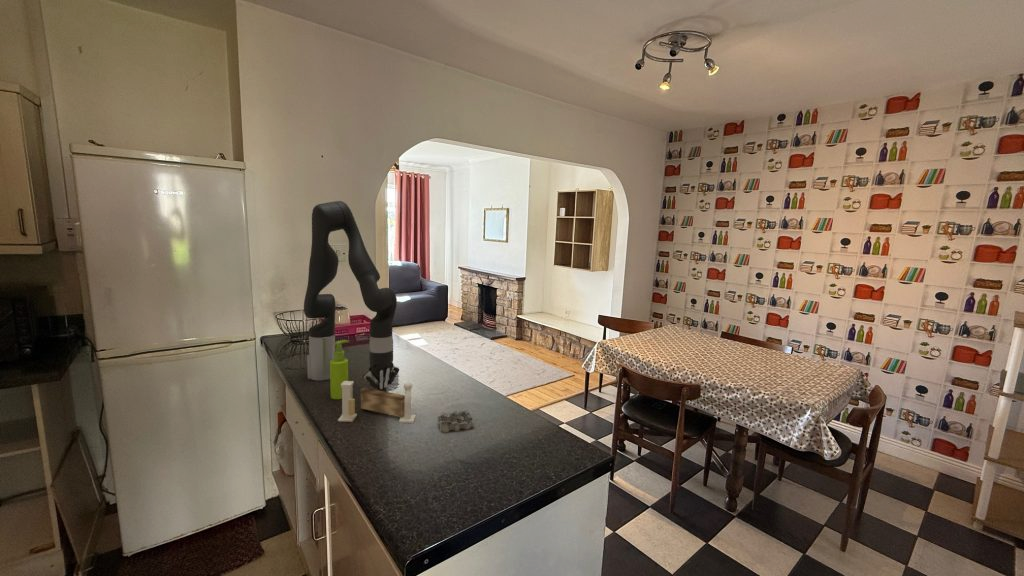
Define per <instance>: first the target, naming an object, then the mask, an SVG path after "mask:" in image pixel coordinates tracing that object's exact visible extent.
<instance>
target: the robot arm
mask: <svg viewBox="0 0 1024 576" xmlns="http://www.w3.org/2000/svg"><path fill="white" fill-rule="evenodd" d="M340 230H341V231H342V230H343V231H344V233H345V234H346V237H347V239H348V240H347V241H348V256H347V257H348V258H347V259H348V265H349V268H350V270H351V272H352V274H353V276H354V277H355V279H356V281H357V282H358V285H359V288H360V294H361V297H362V300H363V303H364V305H365V307H366V308H367V309H368V310H370V311H371V312H373V313H376V314H375V316H374V317H373V318H372V319H371V320H369V321H370V323H369V343H368V344H369V351H368V353H369V354H368V355H369V358H368V359H369V365H370V366H369V368H368V372H367V373H366V374H363V375H362V379H364V381H366V383H367V384H369V386H370V387H371V388H372V389H374V390H379V391H384V392H387V387H388V386H389V385H392V383H393V382H394V380H395V378H396V376H397V375H398V373H399V371H400V368H399V367H396V366H395V365H394V364H395V363H393V361H394V338H393V321H394V318H395V313H396V310H397V306H398V305H397V303H398V299H397V295H396V293H395V291H394V290H393V289H392V288H390V287H382V288H379V285H378V282H379V281H380V279H381V274H380V272H379V271H378V269H377V268H376V265H375V263H374V262H373V260H372V258H371V257H370V255H369V253H368V251H367V248H366V246H365V244H364V241H363V238H362V235H361V232H360V229H359V227H358V225H357V222H356V220H355V217H354V215H353V212H352V210H351V208H350V206H349V205H348V204H347V203H346V202H344V201H342V200H337V201H336V200H335V201H329V202H324V203H318V204H316V205H314V207H313V209H312V213H311V246H310V247H311V248H310V255H309V263H308V264H309V265H308V276H307V287H306V290H305V296H304V302H303V314H304V315H305V317H306V318H308V319H311V320H312V319H313V320H314V319H323V320H322V321H320V322H319V323H318V324H315V325H312V326H311V327H310V328H309V329H308V344H309V345H308V347H309V354H307V356H306V359H307V361H306V362H307V363H306V366H307V368H306V369H307V380H308V379H309V380H312V381H317V382H318V381H319V382H320V381H327V380H330V361H331V360H333V359H334V351H335V350H336V345H335V344H334V342H336V331H335V330H336V326H335V325H336V308H337V306H336V298H335V296H334V295H333V294H332V293H321V292H322V290H324V289H325V288H326V287H327V286H328V285H329V284H330V283H332V282H333V281H334V279H335V278H336V276H337V273H338V267H339V263H340V261H339V260H340V259H339V256H338V255H337V253H336V251H335V250H334V248H333V247H332V246H331V244H330V242H329V235H330V234H331V233H332V232H336V231H340ZM320 293H321V294H320ZM373 378H374V380H373Z"/></svg>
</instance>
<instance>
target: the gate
mask: <svg viewBox="0 0 1024 576" xmlns="http://www.w3.org/2000/svg"><path fill="white" fill-rule="evenodd" d="M359 392H360V409H362V410H368V411H372V412H377V413H382V414H385V415H392V416H395V417H396V416H397V417H400V418H401V417H403V416H404V405H405V394H401V393H400V394H399V393H395V392H394V393H393V392H388V391H386V392H384V391H379V390H377V389H375V388H368V387H363V388H361V389H360V391H359Z"/></svg>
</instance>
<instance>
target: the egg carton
mask: <svg viewBox="0 0 1024 576" xmlns="http://www.w3.org/2000/svg"><path fill="white" fill-rule="evenodd" d="M436 417H437V427H439V431H440V432H444V433H449V432H450V431H455V432H458V431H460V430H462V429H465V431H466V430H470V429H471V428H472V427H473V423H474V419H473V417H472V414H471V412H470V410H469V409H465V410H462V411H460V410H459V411H457V410H456V411H451V412H440V413H439V414H438V415H437V416H436Z"/></svg>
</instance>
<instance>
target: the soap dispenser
mask: <svg viewBox="0 0 1024 576" xmlns="http://www.w3.org/2000/svg"><path fill="white" fill-rule="evenodd" d="M345 343H350V340H346V339H342V340H338V341H337V340H336V341H335V342H334V344H335V351H334V359H333V360H331V361H330V379H329V382H330V384H329V386H330V389H329V390H330V391H329V392H330V394H329V395H330V399H332V400H342V387H341V384H342V383H343V382H344V381H349V359H348V358H346V357H345V350H344V349H342V346H343V345H342V344H345Z"/></svg>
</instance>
